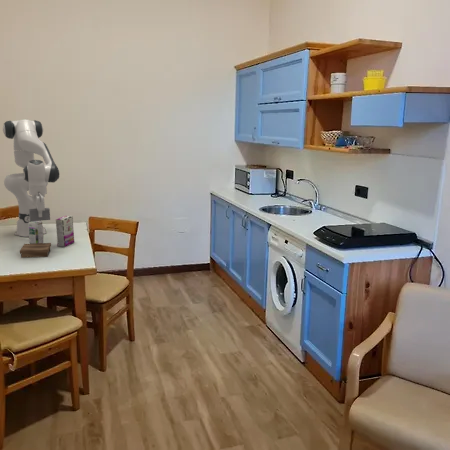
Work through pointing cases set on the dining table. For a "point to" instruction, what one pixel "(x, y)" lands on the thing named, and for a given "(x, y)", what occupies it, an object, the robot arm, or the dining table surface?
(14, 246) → the dining table surface
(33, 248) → the wooden stand
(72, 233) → the candy bar box
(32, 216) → the block
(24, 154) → the robot arm
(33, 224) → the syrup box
